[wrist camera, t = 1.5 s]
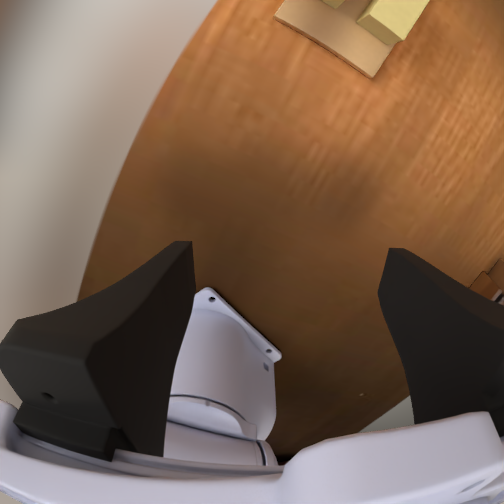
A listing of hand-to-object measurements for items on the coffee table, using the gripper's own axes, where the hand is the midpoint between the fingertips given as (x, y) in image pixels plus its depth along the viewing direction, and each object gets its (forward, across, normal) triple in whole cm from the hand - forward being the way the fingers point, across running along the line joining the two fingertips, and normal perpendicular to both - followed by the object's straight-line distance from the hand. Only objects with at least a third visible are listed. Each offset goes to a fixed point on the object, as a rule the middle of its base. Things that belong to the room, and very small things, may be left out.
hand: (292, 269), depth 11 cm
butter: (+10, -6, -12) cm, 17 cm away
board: (+11, -5, -13) cm, 18 cm away
